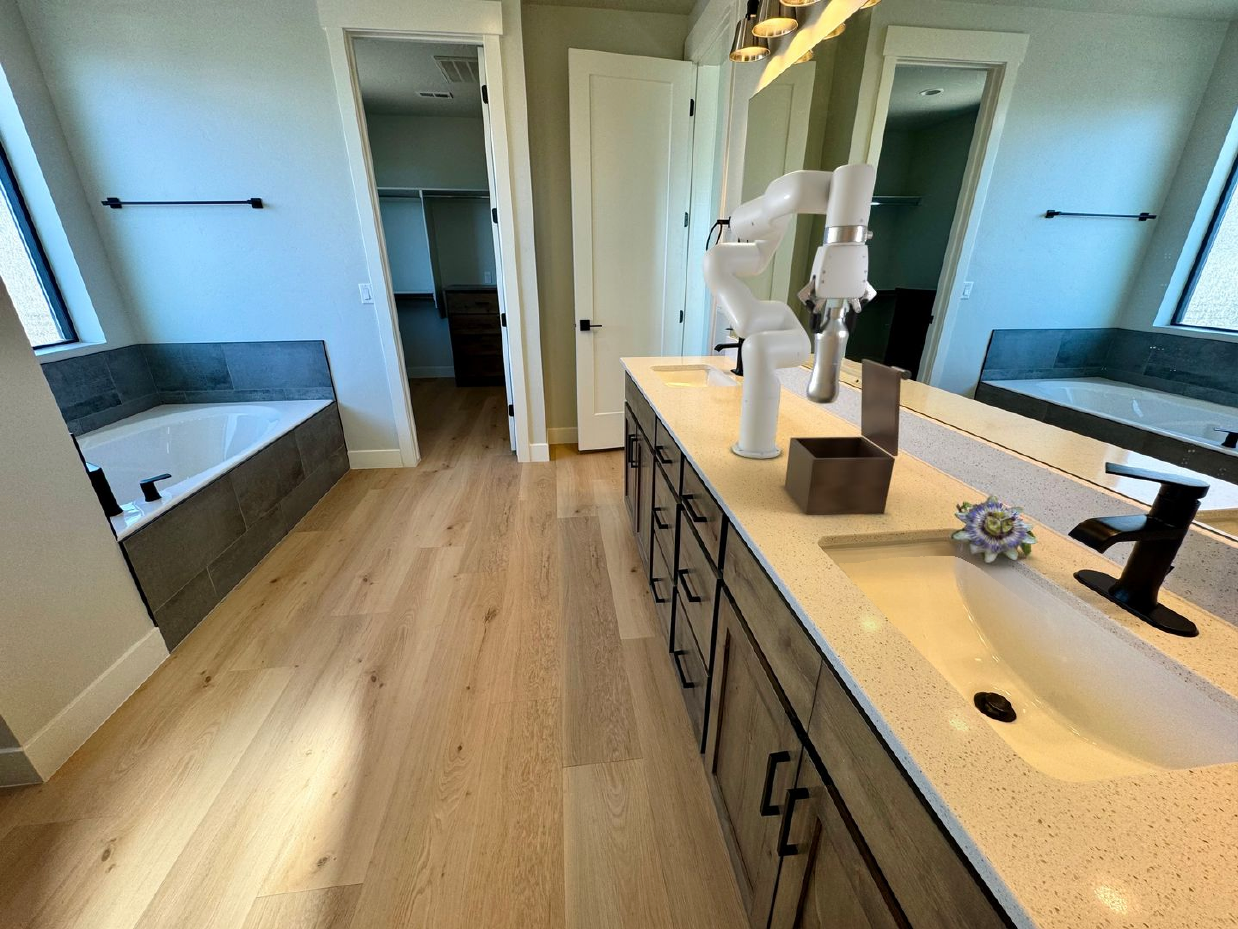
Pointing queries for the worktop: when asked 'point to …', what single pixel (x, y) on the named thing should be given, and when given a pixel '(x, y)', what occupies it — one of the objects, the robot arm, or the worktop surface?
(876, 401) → the lid
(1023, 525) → the passion flower
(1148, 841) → the worktop surface
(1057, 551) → the worktop surface
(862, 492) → the chest
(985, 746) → the worktop surface
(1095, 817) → the worktop surface
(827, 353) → the silver metal bottle
